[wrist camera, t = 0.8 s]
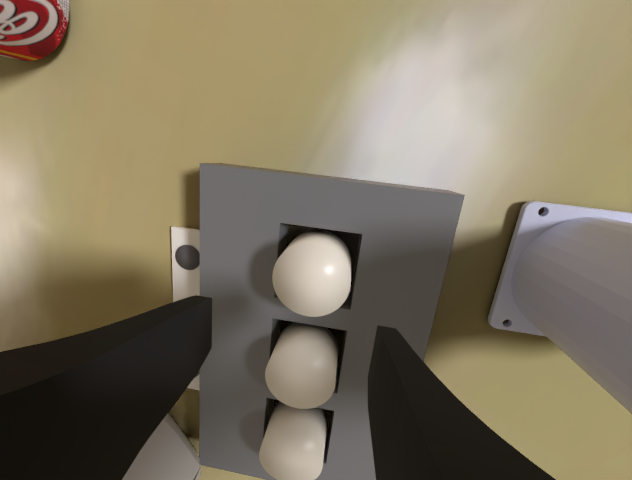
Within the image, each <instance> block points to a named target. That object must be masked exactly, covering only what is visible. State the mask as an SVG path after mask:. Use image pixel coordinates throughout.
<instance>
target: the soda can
mask: <svg viewBox="0 0 632 480" xmlns="http://www.w3.org/2000/svg"><path fill="white" fill-rule="evenodd" d="M69 11H70V9H69V0H0V56H4V57H9V58H14V59H19V60H24V61H34V60H38V59H41V58H44V57H46V56H48V55H49V54H50V53H52V52H53V51H54V50H55V49H56V48H57V47H58V45H59V44H60V42H61V41H62V39H63V37H64V34H65V32H66V29H67V25H68V21H69Z"/></svg>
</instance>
